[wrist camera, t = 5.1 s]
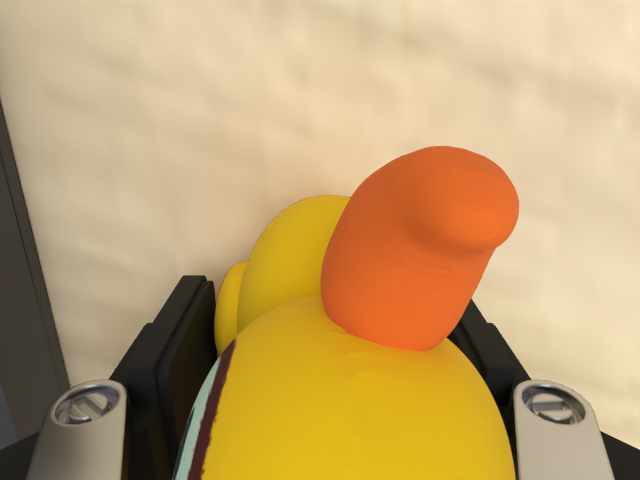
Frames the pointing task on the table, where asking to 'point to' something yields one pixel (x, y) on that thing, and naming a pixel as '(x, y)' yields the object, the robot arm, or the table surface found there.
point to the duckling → (359, 335)
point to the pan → (23, 316)
